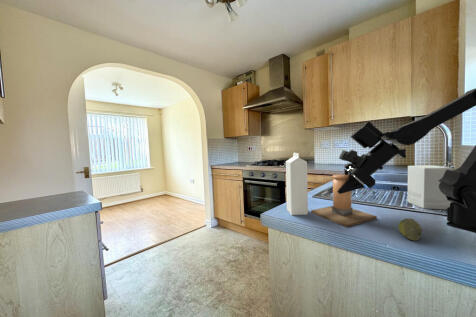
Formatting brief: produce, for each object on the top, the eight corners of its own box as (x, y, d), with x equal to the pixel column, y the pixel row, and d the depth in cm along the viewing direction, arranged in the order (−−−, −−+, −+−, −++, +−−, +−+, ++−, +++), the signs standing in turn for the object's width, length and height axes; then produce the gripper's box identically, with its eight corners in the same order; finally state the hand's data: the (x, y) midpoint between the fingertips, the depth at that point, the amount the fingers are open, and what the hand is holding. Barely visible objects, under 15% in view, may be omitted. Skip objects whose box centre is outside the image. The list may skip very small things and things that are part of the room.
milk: (291, 215, 67) (289, 153, 65) (286, 209, 73) (285, 152, 71) (308, 214, 67) (307, 152, 65) (302, 208, 73) (301, 152, 71)
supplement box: (453, 210, 66) (455, 167, 65) (423, 209, 68) (424, 168, 67) (432, 202, 75) (433, 164, 74) (406, 201, 76) (407, 165, 76)
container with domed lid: (355, 207, 63) (356, 176, 62) (343, 210, 61) (343, 177, 60) (340, 203, 68) (340, 174, 68) (328, 205, 66) (328, 175, 65)
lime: (421, 237, 48) (422, 218, 48) (421, 244, 45) (421, 224, 45) (399, 232, 51) (399, 214, 51) (396, 238, 48) (397, 219, 48)
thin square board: (376, 218, 61) (376, 209, 61) (346, 227, 56) (346, 217, 55) (338, 206, 74) (338, 199, 74) (311, 212, 68) (311, 204, 68)
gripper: (350, 141, 70) (318, 170, 75) (362, 140, 53) (319, 178, 58) (375, 162, 68) (341, 190, 73) (396, 168, 50) (349, 205, 55)
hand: (337, 190), depth 65 cm, fingers closed on container with domed lid, 5 cm apart
